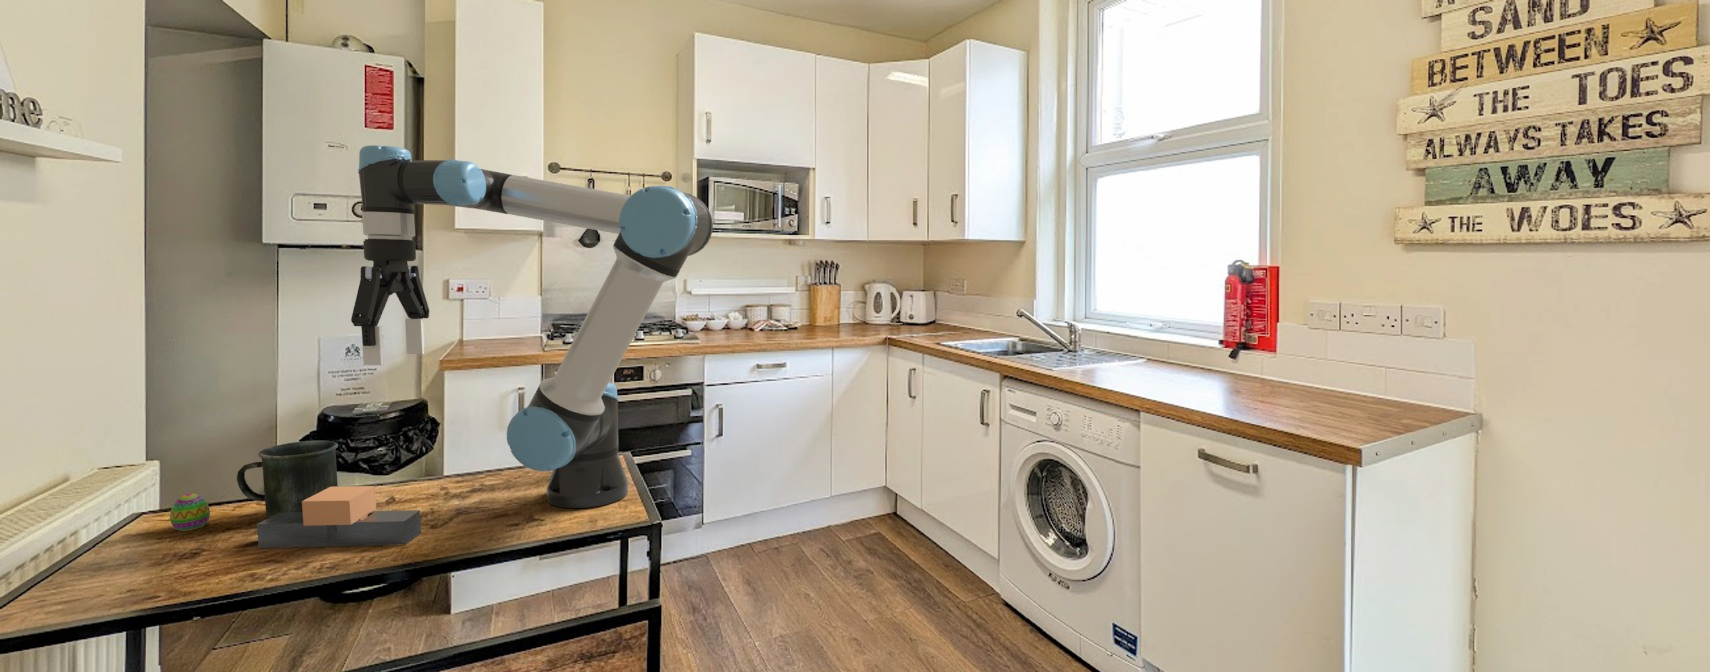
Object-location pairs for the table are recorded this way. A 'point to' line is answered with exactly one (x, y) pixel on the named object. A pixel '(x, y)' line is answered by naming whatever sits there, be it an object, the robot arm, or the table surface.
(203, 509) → the egg
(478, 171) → the robot arm
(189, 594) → the table surface
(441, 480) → the table surface
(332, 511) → the tan block with tab
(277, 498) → the mug
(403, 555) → the table surface
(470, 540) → the table surface
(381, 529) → the rail
